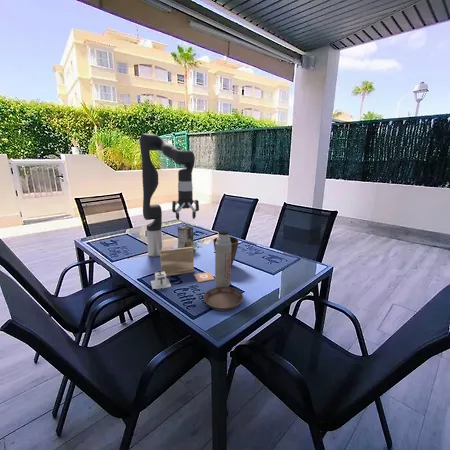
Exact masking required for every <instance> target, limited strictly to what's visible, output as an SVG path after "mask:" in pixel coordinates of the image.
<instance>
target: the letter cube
mask: <svg viewBox="0 0 450 450" xmlns="http://www.w3.org/2000/svg"><path fill="white" fill-rule="evenodd" d="M166 278H167V276H166V274H165V271H164V272H161V271H158V272H154V280H155V283H156V286H161V285H167V281H166Z"/></svg>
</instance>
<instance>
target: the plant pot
mask: <svg viewBox="0 0 450 450" xmlns="http://www.w3.org/2000/svg"><path fill="white" fill-rule="evenodd" d="M218 237H219V236H218ZM218 237H215V238H213V240H212V242H213V247H214V250H215V243H216V242H217V238H218ZM229 238H230V242H231V267H232V266H233V263H234V261H235V257H236V255H237V252H238V247H239V239H238V238H237V237H234V236H229Z"/></svg>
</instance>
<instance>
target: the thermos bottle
mask: <svg viewBox="0 0 450 450" xmlns="http://www.w3.org/2000/svg"><path fill="white" fill-rule="evenodd" d="M229 235H230V234H229V231H228V230H219V231H218V238H217V237H216V238H217V242H216V243H215V249H214V255H215V257H214V259H215V260H214V261H215V262H214V264H215V265H214V279H215V280H214V284H215V286H216V287H230V285H231V276H232V275H231V274H232V273H231V272H232V266H231V242H230V238H229V237H230V236H229Z"/></svg>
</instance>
